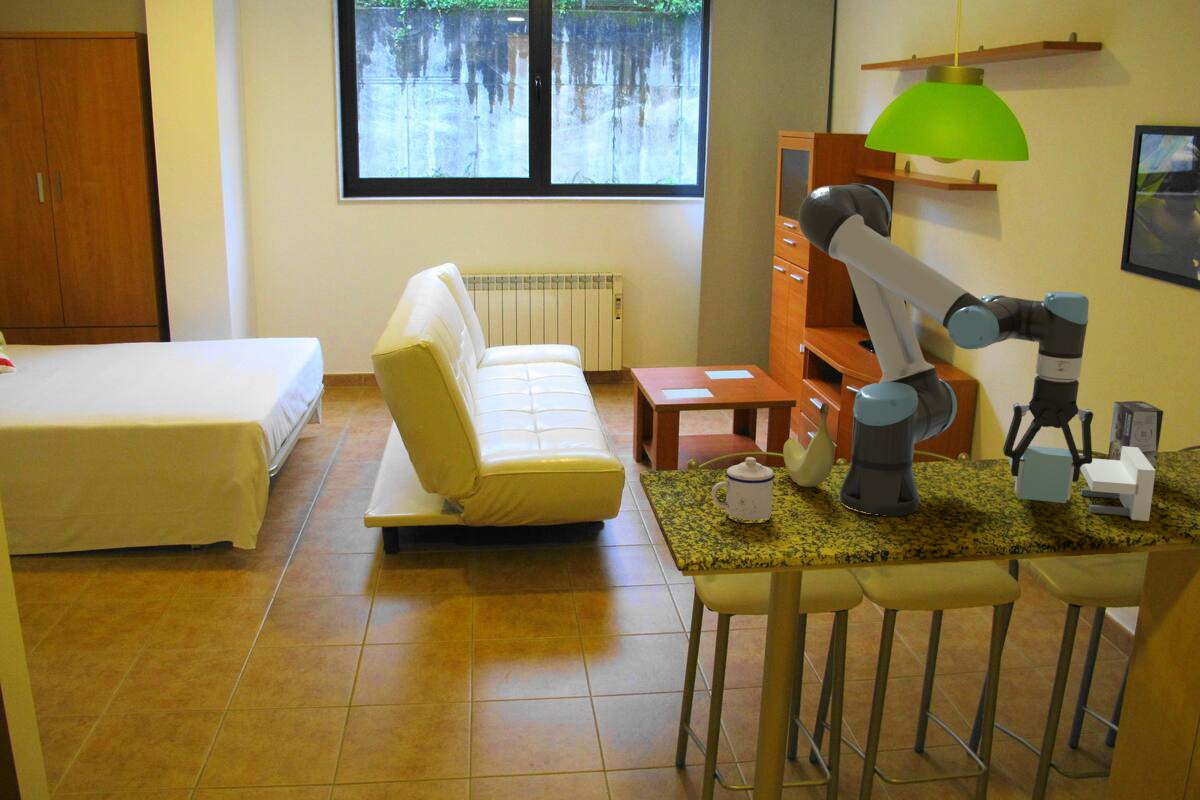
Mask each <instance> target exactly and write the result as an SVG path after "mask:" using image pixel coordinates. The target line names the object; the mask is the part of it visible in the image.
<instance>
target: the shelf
mask: <svg viewBox="0 0 1200 800" xmlns="http://www.w3.org/2000/svg"><path fill="white" fill-rule="evenodd" d="M1156 471H1157V470H1155V469H1154V468H1153V466H1152V465H1151V464H1150V462H1149V461H1148V460H1147V458H1146V457H1145V456H1144V455H1143V453H1142V452H1141V451H1140V449H1139V448H1138V447H1126V446H1122V449H1121V457H1120V460H1108V458H1107V459H1105V458H1104V459H1103V458H1093V457H1092V463H1090V464H1083V465H1082V466H1081V467H1080V473H1082V475H1083V477H1084V479H1085V481H1086V483H1087V485H1088V486H1089V488H1084V487H1083V488H1080V496H1081V495H1083V496H1082V497H1095V498H1106V499H1117V498H1118V499H1119V500H1120V503H1121V504H1122V506H1113V505H1111V506H1110V505H1100V504H1099V505H1098V504H1089V505H1088V507H1089V508H1088V512H1089V513H1094V514H1103V515H1106V514H1107V515H1115V516H1127V517H1128V516H1129V518H1130V519H1131V521H1141V522H1142V521H1144V522H1149V521H1150V517H1151V516H1150V515H1151V507H1152V500H1153V493H1154V486H1155V485H1154V484H1155V478H1156Z"/></svg>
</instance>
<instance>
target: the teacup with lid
mask: <svg viewBox="0 0 1200 800" xmlns="http://www.w3.org/2000/svg"><path fill="white" fill-rule="evenodd" d="M725 476H726V481H720V482H717V483H716V484H714V486H713V487H712V489H711V497H712V501H713V503H715V505H716V506H718V507H720V508H723V509H725V513H726V512H727V513H728V514H729V515H731V516H733V517H737V518H741V519H746V520H760V519H765V518H768V517H769V516H771V514H772V512H773V511H772V510H773V492H774V491H773V489H774V479H775V472H774V470H772V469H771V468H770V467H768V466H765V465H763V464H761V463H759V462H757V459H756V458H755V457H752V456H747V457H746V458H745V461H742V462H740V463H739V464H735V465H732V466H729V467H728V468H727V470H726V472H725ZM723 487H726V496H725V497H726V500H725V502H720V501H719V500H718V498H717V492H718V490H719V489H720V488H723ZM772 515H773V514H772ZM771 517H772V516H771Z"/></svg>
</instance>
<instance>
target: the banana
mask: <svg viewBox="0 0 1200 800" xmlns="http://www.w3.org/2000/svg"><path fill="white" fill-rule="evenodd" d="M829 406H830V405H829V404H828V403H827V402H823V403H822V404H821V407H820V408H819V414H820V424H819V428H818V431H817V432H815V434H814V435H813V436H812V438H811V440H810V442H809V444H808V446H807V448H806V450H805V449H804V447H803V446H802V445H801V444H800V443H799V442H798V441H797V440H796V439H795V438H791V437H789V438H788V439H786V440H785V442H784V445H783V449H782V453H783V455H782V456H783V460H784V464H785V468H786V471H787V473H788V475H789V477H790V478H791V481H793V482H794V483H795V482H796V483H797V484H796V483H795V484H796V485H798V486H800V487H807V488H809V487H816V486H820V485H821V484H823V483H824V482H825V481H826V480H827V478H828V476H829V475H830V473H831V471H832V467H833V464H834V459H835V458H834V457H835V444H834V441H833V439H832V437H831V435H830V432H829V430H828V428H827V418H828V416H829V408H830V407H829Z"/></svg>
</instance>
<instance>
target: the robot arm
mask: <svg viewBox="0 0 1200 800" xmlns="http://www.w3.org/2000/svg"><path fill="white" fill-rule="evenodd" d="M797 215H798V225H799V228H800V230H801V233H802V234H803V236H804V238H805V239H807V241H808V242H810V243H811V244H812V245H813V246H814V247H816V248H817V249H818V250H820V251H821V252H823V253H824V254H826V255H827V256H829V257H830V258H832V259H835V260H838V261H839V262H842V263H844V264H845V266H846V269H847V272H848V275H849V277H850V281H851V283H852V288H853V290H854V293H855V295H856V299H857V303H858V305H859V308H860V310H861V313H862V317H863V320H864V322H865V325H866V328H867V331H868V335H869V338H870V341H871V343H872V345H873V349H874V352H875V355H876V358H877V361H878V363H879V366H880V369H881V372H882V375H881V378H880V379H879V382H875V383H871V384H867V385H865V386H862V387H861V388H860V389H859V390H858V391H857V392H856V395H855V397H854V398H855V399H854V404H853V407H852V408H853V409H852V413H853V416H852V417H853V418H852V419H853V422H852V439H851V453H850V455H851V457H850V465H849V467H848V470H847V472H846V474H845V477H844V479H843V482H842V484H841V487H840V489H839V499H840V501H841V503H843V504H844V505H846V506H848V507H850V508H853V509H856V510H858V511H863V512H866V513H871V514H878V515H886V516H885V517H901V516H907V515H911V514H913V513H916V512H917V511H918V510H919V505H920V503H919V502H920V494H919V491H918V486H917V483H916V478H915V475H914V470H913V458H914V450H915V449H914V447H915V444H918V443H920V442H922V441H923V442H924V441H925V440H927V439H932V438H935V437H937V436H939V435H940V434H942V433H943V432H944V431H946V430H947V429H948V428H950V426H951V424H952V423H953V422H954V420H955V418H956V415H957V409H958V408H957V407H958V402H957V397H956V394H955V392H954V389H952V387H951V385H950V384H948V382H945V381H944V380H943V379H941V378H939V374H938V372H937V368H936V367H935V365H934V364H932V363H929V362H927V361H926V360H925V358H924V355H923V352H922V349H921V347H920V343H919V341H918V337H917V335H916V332H915V329H914V326H913V323H912V321H911V317H910V313H909V312H908V308H907V306H906V303H908V304H909V305H911V306H912V307H914V308H915V309H917V311H920V312H921V313H923V314H924V315H925V316H927V317H928V318H930V319H932V320H933V321H934V322H936V323H938V324H939V325H940V326H942V327H943V328H944V329H947V331H948V335H949V337H950V340H951V341H952V343H953V344H954V345H956V346H957V347H959V348H960V349H963V350H979V349H985V348H987V347H988V346H991V345H993V344H996V343H1000V342H1004V341H1007V340H1010V339H1011V340H1021V341H1027V342H1028V341H1029V342H1033V343H1034V342H1036V343H1038V349H1037V350H1038V351H1037V352H1038V353H1037V358H1036V366H1035V367H1036V368H1035V373H1036V374H1037V375H1036V376H1035V377H1034V382H1033V383H1034V384H1033V392H1032V397H1031V400H1030V401H1029V403H1024V404H1019V403H1018V402H1015V403H1014V404H1013V405H1012V406H1013V407H1012V410H1013V416H1012V420H1011V423H1010V426H1009V429H1008V433H1007V435H1006V439H1005V442H1004V445H1003V448H1002V451H1003V455H1004V456H1005V457H1009V458H1010V457H1011V458H1012V465H1011V467H1010V472H1011V476H1012V477H1014V476H1016V482H1015V481H1014V493H1015V495H1016V496H1017V495H1018V496H1019V495H1020V491H1021V483H1022V475H1023V467H1024V460H1023V458H1021V457H1022V455H1023V454H1024V452H1025V451H1026V449H1027V448H1028V446H1030V444H1031V443H1032V441H1033V440H1034V438H1035V437H1036V435H1037V434H1038V432H1039V431H1040V430H1041V428H1042V427H1043V428H1050V427H1051V428H1052V427H1053V428H1055V429H1061V431H1062V433H1063V436H1064V440H1065V442H1066V445H1067V449H1069V451H1070V453H1071V455H1072V464H1071V472H1070V479H1069V486H1068V494H1067V501H1070V500H1071V494H1072V486H1073V483H1078V482H1079V479H1080V473H1081V470H1080V467H1081V466H1082V465H1083V464H1090V463H1092V458H1093V449H1092V448H1093V447H1092V431H1091V430H1092V429H1091V424H1092V421H1093V417H1094V413H1093V412H1092V409H1090V408H1086V409H1083V408H1081V407H1080V408H1079V407H1078V404H1077V399H1078V392H1079V387H1080V386H1079V385H1080V382H1079V380H1078V378H1080V377H1081V369H1082V361H1083V354H1084V347H1085V341H1086V340H1085V339H1086V334H1087V327H1088V323H1089V308H1090V306H1089V305H1090V301H1089V299H1088V297H1087V296H1086V295H1084V294H1081V293H1077V292H1070V291H1050V292H1047V293H1046V294H1045V297H1044V299H1043V300H1032V299H1025V298H1018V297H1017V298H1016V297H1012V296H1011V297H1010V296H1006V295H1002V294H1000V295H993V294H992V295H990V294H987V295H984V296H983V297H981V298H977V297H976V296H975V295H973V294H971V293H970V292H969V291H967V290H966V289H964V288H963V287H961V286H960V285H958V284H957V283H955V282H954V281H952V280H950V279H949V278H947V277H946V276H945V275H942V274H941V273H939V272H938V271H937V270H935V269H934V268H932V267H930V266H929V265H928V264H926V263H924V262H923V261H921V260H919V259H918V258H916V257H915V256H913V255H912V254H911V253H909V252H907V251H906V250H904V249H903V248H901V247H900V246H898V244H897V245H896V243H894V242H892V241H891V239H892V237H891V234H890V232H889V229H888V228H889V227H890V222H891V221H892V208H891V204H890V202H889V200H888V199H887V197H886V196H885V194H884V193H883V192H882V191H881V190H879V189H878V188H876V187H875V186H872V185H868V184H862V183H849V184H842V185H840V184H839V185H824V186H820V187H817V188H816V189H813V190H812V191H811V192H809V193H808V194H807V195H806V196H805V198H804V199H803V200H802V202H801V204H800V207H799V210H798V214H797ZM905 302H906V303H905ZM1027 412H1030V413H1031V414H1032V416H1033V419H1032V421H1031V422H1030V425H1029V426H1028V427H1027V430H1026V432H1025V433H1024V434H1023V435H1022V438H1021V439H1020V441H1019V442H1018V444H1017V445H1016V447H1015V448H1014V446H1015V442H1016V439H1017V436H1018V432H1019V429H1020V427H1021V424H1022V419H1023V417H1025V416H1026V414H1027ZM1076 415H1077V416H1078V419H1079V421H1081V424H1080V425H1081V441H1082V455H1079V451H1078V449H1077V446H1076V443H1075V439H1074V437H1073V434H1072V430H1071V428H1070V425H1069V422H1070V421H1071V420H1072V419H1073V418H1075V416H1076ZM840 501H839V502H840ZM841 503H840V504H841Z"/></svg>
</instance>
